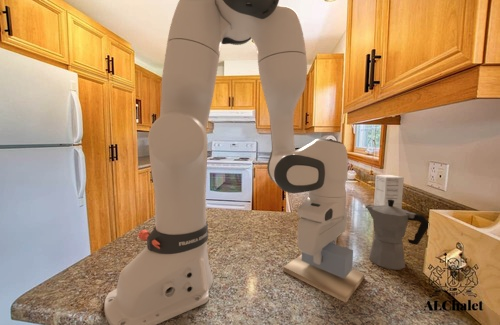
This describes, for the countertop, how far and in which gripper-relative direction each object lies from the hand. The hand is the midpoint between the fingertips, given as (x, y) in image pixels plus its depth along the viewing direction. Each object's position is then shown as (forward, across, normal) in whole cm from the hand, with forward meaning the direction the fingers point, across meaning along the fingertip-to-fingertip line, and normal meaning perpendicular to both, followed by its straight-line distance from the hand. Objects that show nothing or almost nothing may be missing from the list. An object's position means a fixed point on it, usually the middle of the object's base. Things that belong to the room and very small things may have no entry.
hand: (323, 257), depth 56 cm
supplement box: (+5, -80, -3) cm, 80 cm away
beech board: (+4, 0, 0) cm, 4 cm away
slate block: (-1, 0, +6) cm, 6 cm away
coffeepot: (+5, -19, +11) cm, 22 cm away
